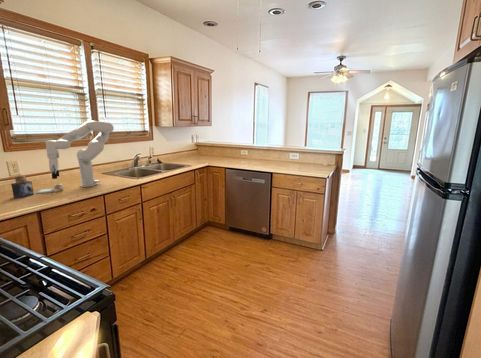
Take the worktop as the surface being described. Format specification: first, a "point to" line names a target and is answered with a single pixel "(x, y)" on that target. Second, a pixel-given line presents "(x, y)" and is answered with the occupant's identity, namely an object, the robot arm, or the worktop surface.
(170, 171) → the worktop surface
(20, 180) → the walnut cube
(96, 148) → the robot arm
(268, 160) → the worktop surface
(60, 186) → the oak cube
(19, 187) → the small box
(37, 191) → the grey square plate
